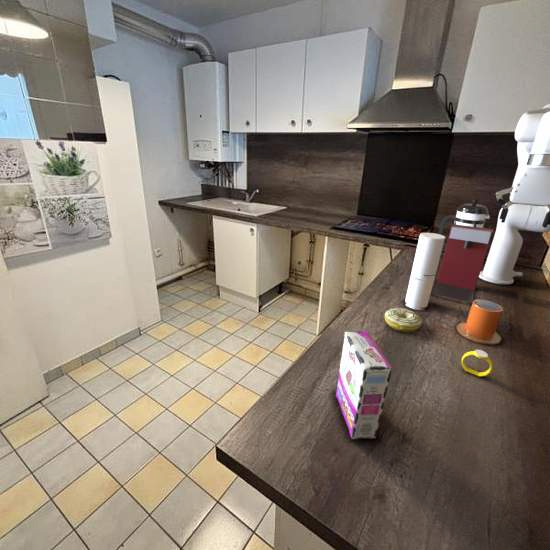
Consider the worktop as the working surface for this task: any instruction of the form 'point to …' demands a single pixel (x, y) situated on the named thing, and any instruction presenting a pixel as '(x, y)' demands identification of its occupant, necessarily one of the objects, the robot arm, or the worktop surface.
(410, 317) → the decorated donut
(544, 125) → the robot arm
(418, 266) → the cylindrical container
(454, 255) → the coffee maker
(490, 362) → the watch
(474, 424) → the worktop surface
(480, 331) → the cup
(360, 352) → the candy bar box
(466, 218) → the coffee press
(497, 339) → the coaster
